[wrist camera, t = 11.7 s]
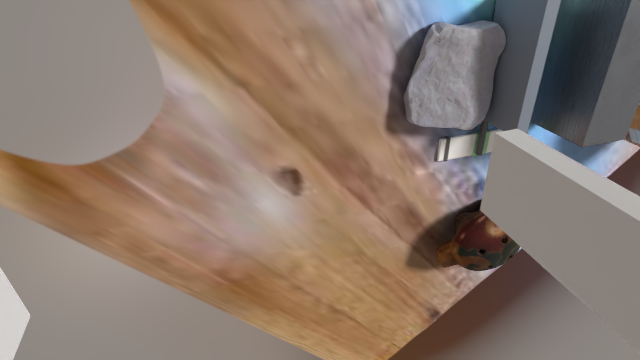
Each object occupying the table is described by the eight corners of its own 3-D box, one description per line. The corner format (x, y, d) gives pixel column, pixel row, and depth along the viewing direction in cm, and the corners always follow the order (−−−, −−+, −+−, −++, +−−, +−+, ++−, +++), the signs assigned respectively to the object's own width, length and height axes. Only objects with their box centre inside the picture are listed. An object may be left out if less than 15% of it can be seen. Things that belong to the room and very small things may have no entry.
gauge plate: (498, -9, 43) (548, -2, 37) (510, -10, 43) (561, -3, 37) (469, 152, 52) (505, 177, 46) (479, 150, 53) (516, 175, 47)
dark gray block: (550, -23, 44) (636, -16, 36) (594, -26, 45) (687, -20, 37) (518, 115, 52) (582, 147, 44) (555, 109, 53) (624, 139, 45)
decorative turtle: (523, 208, 61) (561, 244, 55) (438, 261, 63) (466, 302, 57) (508, 167, 56) (550, 202, 49) (415, 227, 57) (443, 268, 51)
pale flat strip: (439, 138, 50) (441, 139, 50) (507, 126, 52) (510, 128, 52) (436, 160, 52) (438, 162, 51) (502, 148, 54) (505, 150, 54)
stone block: (392, 119, 49) (470, 121, 50) (403, 133, 45) (488, 135, 46) (407, 15, 44) (494, 19, 45) (421, 19, 40) (517, 24, 41)
